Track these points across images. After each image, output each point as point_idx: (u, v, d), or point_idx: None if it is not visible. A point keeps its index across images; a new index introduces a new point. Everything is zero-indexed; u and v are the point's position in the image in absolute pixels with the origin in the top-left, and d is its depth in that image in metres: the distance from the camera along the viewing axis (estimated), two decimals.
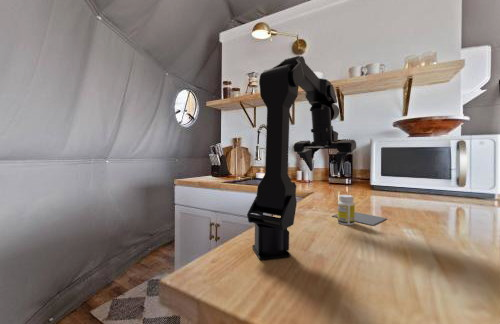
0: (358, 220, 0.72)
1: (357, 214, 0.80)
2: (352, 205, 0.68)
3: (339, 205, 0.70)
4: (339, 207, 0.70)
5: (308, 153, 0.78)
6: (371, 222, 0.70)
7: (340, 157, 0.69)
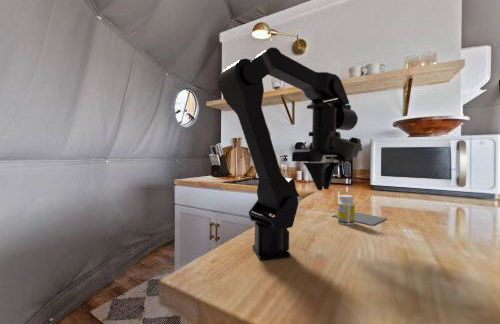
0: (358, 220, 0.72)
1: (357, 214, 0.80)
2: (352, 205, 0.68)
3: (339, 205, 0.70)
4: (339, 207, 0.70)
5: None
6: (371, 222, 0.70)
7: None
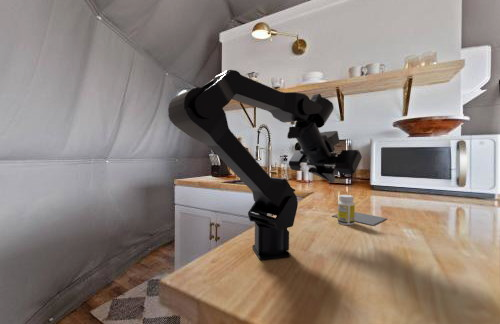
0: (358, 220, 0.72)
1: (357, 214, 0.80)
2: (352, 205, 0.68)
3: (339, 205, 0.70)
4: (339, 207, 0.70)
5: (322, 166, 0.62)
6: (371, 222, 0.70)
7: (327, 175, 0.60)
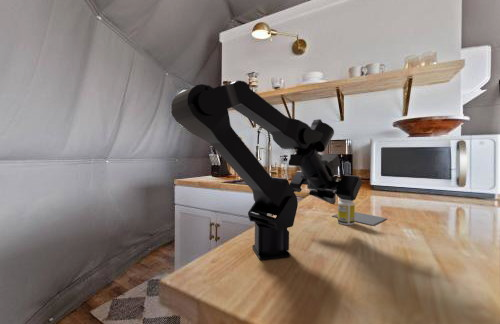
0: (358, 220, 0.72)
1: (357, 214, 0.80)
2: (352, 205, 0.68)
3: (339, 205, 0.70)
4: (339, 207, 0.70)
5: None
6: (371, 222, 0.70)
7: (328, 199, 0.60)
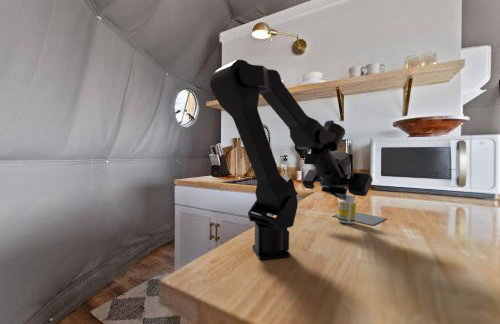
0: (358, 220, 0.72)
1: (357, 214, 0.80)
2: (353, 203, 0.69)
3: (340, 203, 0.70)
4: (340, 205, 0.70)
5: None
6: (371, 222, 0.70)
7: (340, 195, 0.64)
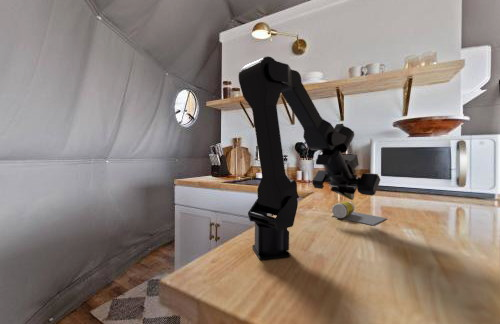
0: (358, 220, 0.72)
1: (357, 214, 0.80)
2: (345, 201, 0.79)
3: None
4: None
5: None
6: (371, 222, 0.70)
7: (348, 194, 0.68)
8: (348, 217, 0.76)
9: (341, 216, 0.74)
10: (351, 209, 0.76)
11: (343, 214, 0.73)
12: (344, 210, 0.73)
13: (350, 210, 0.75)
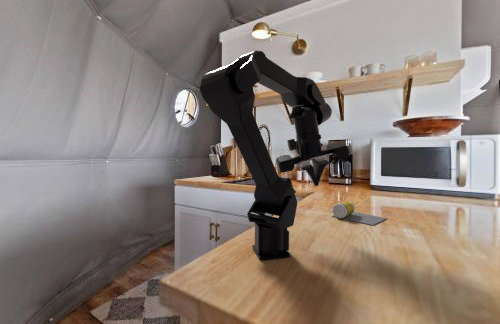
0: (358, 220, 0.72)
1: (357, 214, 0.80)
2: (345, 201, 0.79)
3: None
4: None
5: None
6: (371, 222, 0.70)
7: (322, 168, 0.60)
8: (348, 217, 0.76)
9: (341, 216, 0.74)
10: (351, 209, 0.76)
11: (343, 214, 0.73)
12: (344, 210, 0.73)
13: (350, 210, 0.75)
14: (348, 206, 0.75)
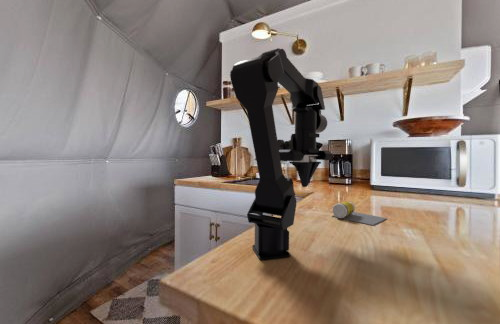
0: (358, 220, 0.72)
1: (357, 214, 0.80)
2: (345, 201, 0.79)
3: None
4: None
5: None
6: (371, 222, 0.70)
7: (316, 167, 0.63)
8: (348, 217, 0.76)
9: (341, 216, 0.74)
10: (351, 209, 0.76)
11: (343, 214, 0.73)
12: (344, 210, 0.73)
13: (350, 210, 0.75)
14: (348, 206, 0.75)
